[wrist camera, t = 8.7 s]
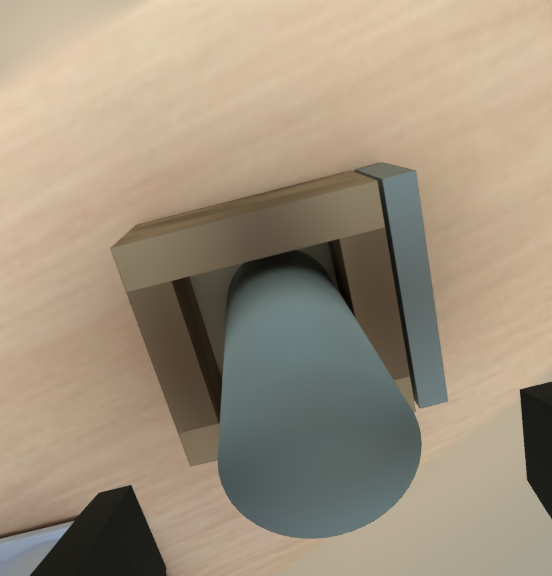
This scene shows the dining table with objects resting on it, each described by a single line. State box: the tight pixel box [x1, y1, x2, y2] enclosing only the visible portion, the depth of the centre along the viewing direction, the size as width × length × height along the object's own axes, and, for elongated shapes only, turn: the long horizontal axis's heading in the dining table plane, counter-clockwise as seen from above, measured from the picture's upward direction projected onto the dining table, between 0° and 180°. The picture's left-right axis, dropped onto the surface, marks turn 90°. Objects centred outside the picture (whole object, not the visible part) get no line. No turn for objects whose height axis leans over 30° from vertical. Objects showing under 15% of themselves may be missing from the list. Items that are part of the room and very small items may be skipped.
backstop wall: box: [355, 163, 448, 408], centre depth 17 cm, size 1×8×4 cm, turn 14°
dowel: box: [218, 250, 421, 538], centre depth 13 cm, size 4×4×9 cm
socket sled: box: [110, 171, 416, 467], centre depth 17 cm, size 8×8×4 cm
